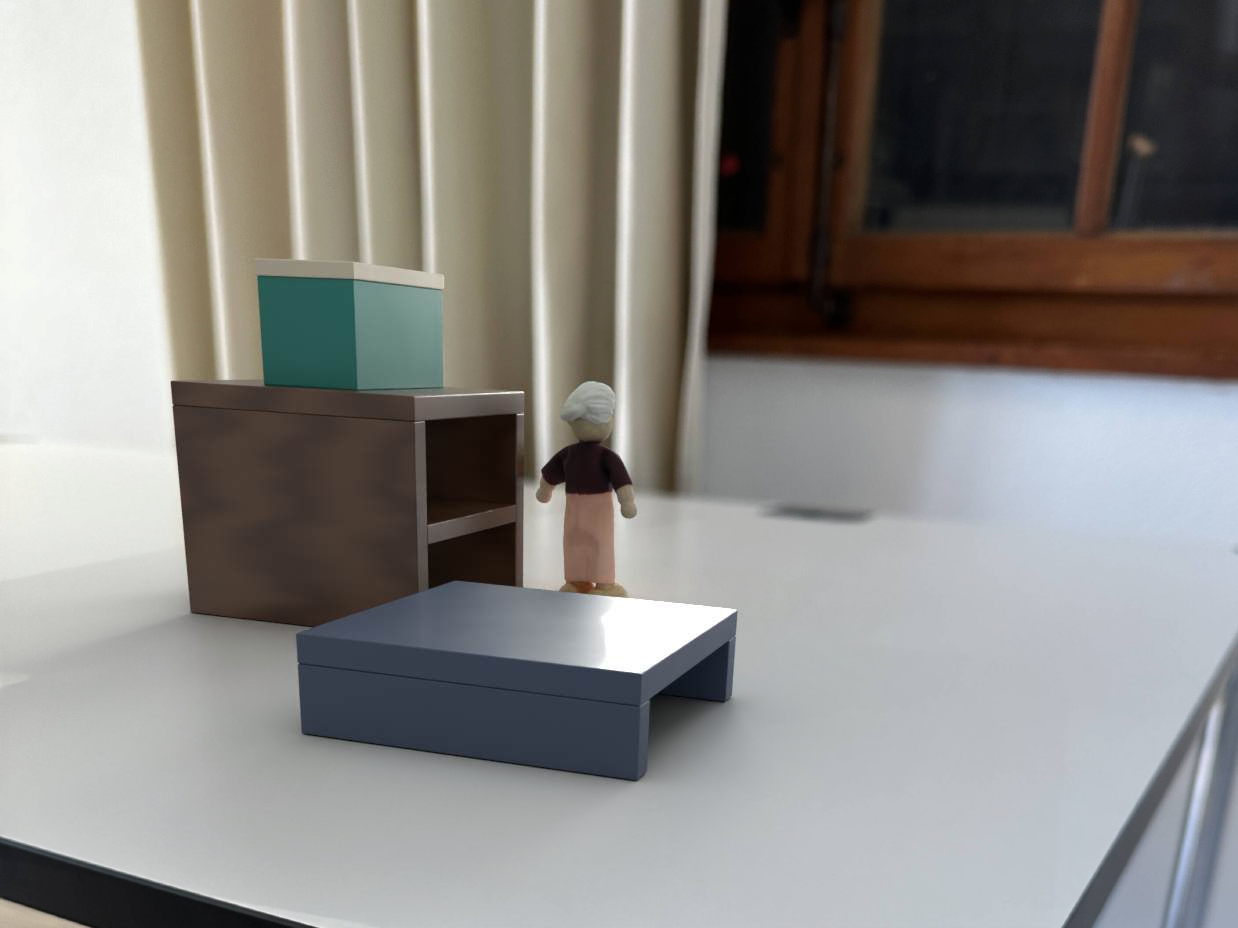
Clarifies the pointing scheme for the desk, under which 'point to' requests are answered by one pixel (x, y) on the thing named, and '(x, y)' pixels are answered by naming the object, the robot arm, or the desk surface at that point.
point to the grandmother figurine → (589, 492)
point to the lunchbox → (349, 325)
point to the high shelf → (344, 495)
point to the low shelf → (513, 674)
